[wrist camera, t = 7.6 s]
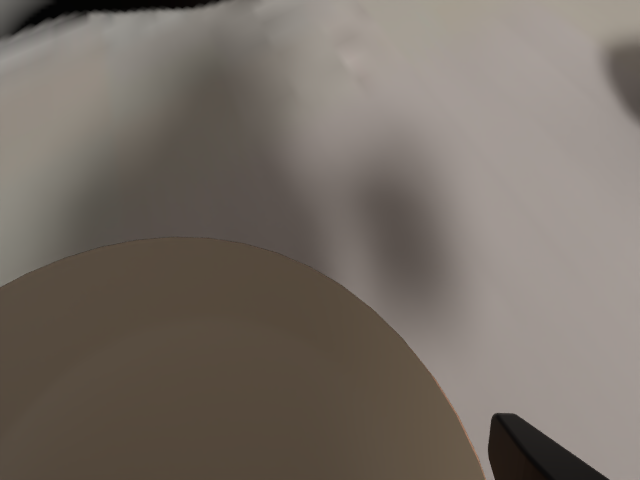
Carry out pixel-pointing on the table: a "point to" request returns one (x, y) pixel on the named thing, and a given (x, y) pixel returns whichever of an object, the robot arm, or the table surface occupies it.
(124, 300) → the jar
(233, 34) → the table surface
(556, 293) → the table surface
